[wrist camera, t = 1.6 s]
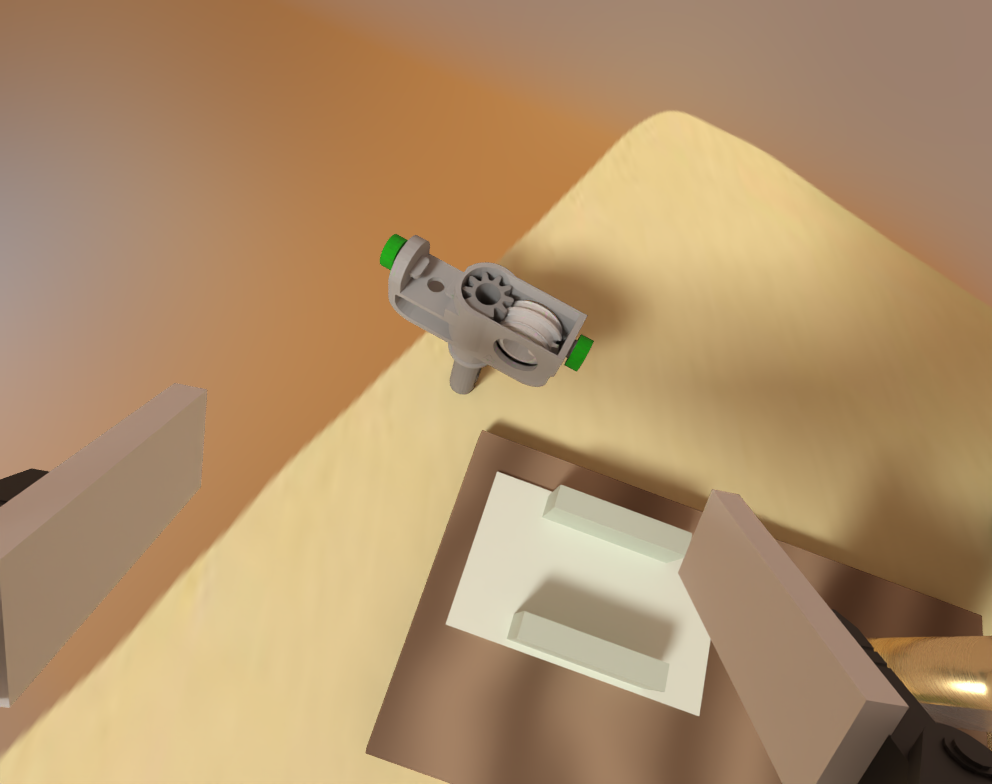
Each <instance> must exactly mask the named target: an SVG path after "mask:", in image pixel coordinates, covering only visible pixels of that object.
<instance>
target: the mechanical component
mask: <svg viewBox="0 0 992 784" xmlns="http://www.w3.org/2000/svg"><path fill="white" fill-rule="evenodd" d="M429 249H430V243H429V242H428V241H427V240H424V239H423V238H421V237H419V236H417V235H415V236H413V237H411V238H410V239H409V240H406V239H404V238H403V237H401V236H399V235H397V234H394V235H393V236H391V238H390V239H389V240H388V241H387V243H386V245H385V246H384V248H383V251H382V254H381V257H380V264H381V265H382V266H384V267H386V268H388V269H389V270H391V271H390V276H389V301H390V303H391V305H392V307H393V308H394V309H395V310H396V311H397V312H398V313H399V314H400V315H401V316H402V317H403V318H405V319H406V320H408V321H410V322H411V323H413V324H415V325H417V326H419V327H420V328H422V329H424V330H426V331H428V332H429V333H431V334H433V335H435V336H437V337H439V338H440V339H442V340H444V341H446V342H448V348H449V352H450V354H451V356H452V357H453V359H454V364H453V368H452V372H451V377H450V386H451V388H452V389H453V390H454V391H455V392H456V393H459V394H468V393H469V392H470V391H471V390H472V389H473V388H474V387H475V386H474V382H477V380H478V377H479V374H480V370H481V368H482V367H485V366H487V365H490V366H491V367H493V368H495V369H497V370H499V371H501V372H502V373H504V374H506V375H508V376H510V377H511V378H513V379H515V380H517V381H519V382H521V383H523V384H526V385H529V386H534V387H540V386H543V385H545V384H546V382H547V380H548V379H549V377H550V376H553V377H554V375H555V374H556V372H557V370H558V369H559V367H560V365H561V364H562V362H563V361H564V359H565V357H567V360H566V362H565V364H564V365H565V366H567V367H569V368H571V369H573V370H575V371H578V369H579V368H580V366H581V364H582V363H583V361H584V359H585V358H586V356H587V354H588V352H589V350H590V348H591V346H592V344H593V342H594V341H593V340H591V339H589V338H587V337H585V336H583V335H582V334H581V335H580V337H579V339H578V340H575V338H576V336H577V334H578V332H579V331H580V329H581V327H582V325H583V323H584V321H585V319H586V317H587V316H588V315H586V314H584V313H582V312H580V311H579V310H577V309H575V308H573V307H571V306H569V305H567V304H566V303H564V302H562V301H560V300H558V299H556V298H554V297H553V296H551V295H549V294H547V293H545V292H543V291H542V290H540V289H538V288H536V287H534V286H532V285H530V284H529V283H527V282H525V281H523V280H521V279H519V278H517V277H516V276H515V275H514V274H513V273H512V272H510V271H509V270H508V269H506V268H505V267H503V266H501V265H498V264H494V263H477V264H474V265H471V266H469V267H468V268H467V269H466V271H465V272H462V271H460V270H458V269H456V268H454V267H452V266H451V265H449V264H447V263H445V262H443V261H442V260H440V259H438V258H436V257H434V256H432V255H431V254H429ZM524 300H531V301H524ZM533 301H535V302H533ZM536 302H538V303H536ZM539 303H541V304H543V305H544V306H543V305H541V304H539ZM545 306H546V307H545ZM547 307H548V308H549V309H550V310H551V311H552V312H553V313H554V314H555V315H556V317H557V318H558V320H557V318H556V317H555V315H554V314H553V313H552V312H551V311H550V310H549V309H548V308H547Z"/></svg>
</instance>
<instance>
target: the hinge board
mask: <svg viewBox="0 0 992 784" xmlns="http://www.w3.org/2000/svg"><path fill="white" fill-rule="evenodd" d="M702 513H703V512H701V511H699V510H696V509H693V508H691V507H688V506H685V505H683V504H680V503H677V502H675V501H672V500H669V499H667V498H664V497H661V496H658V495H656V494H653V493H650V492H648V491H645V490H642V489H640V488H637V487H634V486H632V485H629V484H626V483H624V482H621V481H618V480H615V479H613V478H610V477H607V476H605V475H602V474H599V473H597V472H594V471H591V470H589V469H586V468H583V467H580V466H578V465H575V464H572V463H570V462H567V461H564V460H562V459H559V458H556V457H554V456H551V455H548V454H546V453H543V452H540V451H537V450H535V449H532V448H529V447H527V446H524V445H521V444H519V443H516V442H513V441H511V440H508V439H505V438H502V437H500V436H497V435H494V434H492V433H489V432H486V431H484V430H482V432H481V434H480V436H479V439H478V441H477V444H476V447H475V450H474V452H473V455H472V458H471V461H470V463H469V466H468V469H467V472H466V474H465V477H464V480H463V483H462V486H461V488H460V491H459V494H458V497H457V499H456V502H455V505H454V508H453V510H452V513H451V516H450V519H449V521H448V524H447V527H446V530H445V532H444V535H443V538H442V541H441V544H440V546H439V549H438V552H437V555H436V557H435V560H434V563H433V566H432V568H431V571H430V574H429V577H428V579H427V582H426V585H425V588H424V591H423V593H422V596H421V599H420V602H419V604H418V607H417V610H416V613H415V615H414V618H413V621H412V624H411V626H410V629H409V632H408V635H407V637H406V640H405V643H404V646H403V649H402V651H401V654H400V657H399V660H398V662H397V665H396V668H395V671H394V673H393V676H392V679H391V682H390V684H389V687H388V690H387V693H386V695H385V698H384V701H383V704H382V707H381V709H380V712H379V715H378V718H377V720H376V723H375V726H374V729H373V731H372V734H371V737H370V740H369V742H368V745H367V748H366V754H369V755H372V756H375V757H378V758H380V759H383V760H386V761H389V762H392V763H395V764H397V765H400V766H403V767H406V768H409V769H411V770H414V771H417V772H420V773H423V774H425V775H428V776H431V777H434V778H437V779H439V780H442V781H445V782H448V783H451V784H782V782H781V780H780V778H779V776H778V774H777V772H776V770H775V768H774V766H773V764H772V762H771V760H770V758H769V756H768V754H767V752H766V750H765V747H764V745H763V743H762V741H761V739H760V737H759V735H758V733H757V731H756V729H755V727H754V725H753V723H752V721H751V719H750V717H749V715H748V713H747V711H746V709H745V707H744V705H743V703H742V701H741V699H740V697H739V695H738V693H737V691H736V689H735V687H734V685H733V683H732V681H731V679H730V677H729V675H728V673H727V671H726V669H725V667H724V665H723V663H722V661H721V659H720V657H719V655H718V653H717V651H716V649H715V647H714V645H713V643H712V641H711V639H710V637H709V635H708V633H707V630H706V628H705V626H704V624H703V622H702V620H701V618H700V616H699V614H698V612H697V610H696V608H695V606H694V604H693V602H692V600H691V598H690V596H689V594H688V592H687V590H686V588H685V586H684V584H683V582H682V580H681V578H680V576H679V574H678V571H679V569H680V566H681V564H682V561H683V559H684V557H685V554H686V552H687V549H688V547H689V544H690V542H691V540H692V537H693V535H694V532H695V530H696V527H697V525H698V523H699V520H700V518H701V515H702ZM775 540H776V541H777V543H778V544H779V545H780V546H781V548H782V549H783V550H784V551H785V553H786V554H787V555H788V556H789V558H790V559H791V560H792V561H793V563H794V564H795V565H796V566H797V568H798V569H799V570H800V571H801V573H802V574H803V575H804V576H805V578H806V579H807V580H808V581H809V583H810V584H811V585H812V586H813V588H814V589H815V590H816V591H817V593H818V594H819V595H820V596H821V598H822V599H823V600H824V601H825V603H826V604H827V605H828V606H829V608H830V609H834V610H836V611H837V612H839V613H840V614H841V615H842V616H843V617H845V618H846V619H847V620H848V621H850V622H851V623H852V624H853V625H854V626H856V627H857V628H858V629H859V630H860V632H861V633H862V634H863V635H864V636H865V638H866V639H867V640H868V641H869V642H870V644H871V645H872V646H873V647H874V651H876V652H878V653H879V655H880V656H881V657H882V658H883V659H884V661H885V662H886V663H887V667H888V668H891V669H892V670H893V671H894V673H895V674H896V675H897V676H898V678H899V679H900V680H901V681H902V682H903V684H904V685H905V686H906V687H907V688H908V690H909V691H910V692H911V693H912V694H913V696H914V697H915V698H916V699H917V701H918V702H919V703H920V704H921V705H922V707H923V708H924V709H925V710H926V711H927V713H928V714H929V715H930V716H931V717H932V719H933V720H934V721H935V722H938V723H942V724H946V725H950V726H952V727H954V728H956V729H959V730H961V731H963V732H965V733H967V734H969V735H970V736H972V737H973V738H974V739H976V740H977V741H979V742H980V743H982V744H983V745H985V746H986V747H987V748H988V745H987V732H989V733H992V636H983V631H982V616H981V615H979V614H976V613H973V612H970V611H968V610H965V609H962V608H960V607H957V606H954V605H952V604H949V603H946V602H944V601H941V600H938V599H935V598H933V597H930V596H927V595H925V594H922V593H919V592H917V591H914V590H911V589H909V588H906V587H903V586H901V585H898V584H895V583H892V582H890V581H887V580H884V579H882V578H879V577H876V576H874V575H871V574H868V573H866V572H863V571H860V570H857V569H855V568H852V567H849V566H847V565H844V564H841V563H839V562H836V561H833V560H831V559H828V558H825V557H823V556H820V555H817V554H814V553H812V552H809V551H806V550H804V549H801V548H798V547H796V546H793V545H790V544H788V543H785V542H782V541H779V540H777V539H775Z"/></svg>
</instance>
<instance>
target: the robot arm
mask: <svg viewBox="0 0 992 784" xmlns="http://www.w3.org/2000/svg"><path fill="white" fill-rule="evenodd" d="M206 400H207V390H206V389H202V388H197V387H191V386H186V385H181V384H176V383H174V384H173V385H171V386H170V387H168V388H167V389H166V390H164V391H163V392H161V393H160V394H159V395H157V396H156V397H154V398H153V399H152V400H150V401H149V402H147V403H146V404H145V405H143V406H142V407H140V408H139V409H138V410H136V411H135V412H133V413H132V414H131V415H129V416H128V417H126V418H125V419H124V420H122V421H121V422H119V423H118V424H116V425H115V426H114V427H112V428H111V429H109V430H108V431H107V432H105V433H104V434H102V435H101V436H100V437H98V438H97V439H95V440H94V441H92V442H91V443H90V444H88V445H87V446H85V447H84V448H83V449H81V450H80V451H79V452H77V453H76V454H74V455H73V456H71V457H70V458H69V459H67V460H66V461H64V462H63V463H62V464H60V465H59V466H57V467H56V468H55V469H53V470H52V471H50V472H48V471H42V470H36V469H29V470H26V471H23V472H20V473H17V474H15V475H12V476H9V477H6V478H3V479H1V480H0V706H2V707H11V705H12V704H13V703H14V702H15V701H16V700H17V699H18V697H19V696H20V695H21V694H22V693H23V692H24V690H25V689H26V688H27V687H28V686H29V685H30V683H31V682H32V681H33V680H34V679H35V678H36V677H37V675H38V674H39V673H40V672H41V671H42V670H43V668H44V667H45V666H46V665H47V664H48V663H49V662H50V660H51V659H52V658H53V657H54V656H55V655H56V654H57V652H58V651H59V650H60V649H61V648H62V647H63V646H64V644H65V643H66V642H67V641H68V640H69V639H70V637H71V636H72V635H73V634H74V633H75V632H76V631H77V629H78V628H79V627H80V626H81V625H82V624H83V622H84V621H85V620H86V619H87V618H88V617H89V615H90V614H91V613H92V612H93V611H94V610H95V609H96V607H97V606H98V605H99V604H100V603H101V602H102V600H103V599H104V598H105V597H106V596H107V595H108V593H109V592H110V591H111V590H112V589H113V588H114V586H115V585H116V584H117V583H118V582H119V581H120V580H121V579H122V577H123V576H124V575H125V574H126V573H127V572H128V570H129V569H130V568H131V567H132V566H133V564H135V562H136V561H137V560H138V559H139V558H140V557H141V555H142V554H143V553H144V552H145V551H146V550H147V549H148V547H149V546H150V545H151V544H152V543H153V542H154V540H155V539H156V538H157V537H158V536H159V534H161V532H162V531H163V530H164V529H165V528H166V527H167V525H168V524H169V523H170V522H171V521H172V520H173V518H174V517H175V516H176V515H177V514H178V513H179V512H180V510H181V509H182V508H183V507H184V506H185V505H186V504H187V502H188V501H189V500H190V499H191V498H192V497H193V495H194V494H195V493H196V492H197V491H198V490H199V488H200V487H201V477H202V461H203V446H204V445H203V444H204V431H205V414H206ZM678 574H679V576H680V578H681V580H682V582H683V584H684V586H685V588H686V590H687V592H688V594H689V596H690V598H691V600H692V602H693V604H694V606H695V608H696V610H697V612H698V614H699V616H700V618H701V620H702V622H703V624H704V626H705V628H706V630H707V633H708V635H709V637H710V639H711V641H712V643H713V645H714V647H715V649H716V651H717V653H718V655H719V657H720V659H721V661H722V663H723V665H724V667H725V669H726V671H727V673H728V675H729V677H730V679H731V681H732V683H733V685H734V687H735V689H736V691H737V693H738V695H739V697H740V699H741V701H742V703H743V705H744V707H745V709H746V711H747V713H748V715H749V717H750V719H751V721H752V723H753V725H754V727H755V729H756V731H757V733H758V735H759V737H760V739H761V741H762V743H763V745H764V747H765V750H766V752H767V754H768V756H769V758H770V760H771V762H772V764H773V766H774V768H775V770H776V772H777V774H778V776H779V778H780V780H781V782H782V784H992V751H990V750H989V749H988V748H987V747H986V746H985V745H983V744H982V743H980V742H979V741H977V740H976V739H974V738H973V737H972V736H970V735H969V734H967V733H965V732H963V731H961V730H959V729H956V728H954V727H952V726H950V725H946V724H942V723H938V722H935V721H934V720H933V719H932V717H931V716H930V715H929V714H928V713H927V711H926V710H925V709H924V708H923V707H922V705H921V704H920V703H919V702H918V701H917V699H916V698H915V697H914V696H913V694H912V693H911V692H910V691H909V690H908V688H907V687H906V686H905V685H904V684H903V682H902V681H901V680H900V679H899V678H898V676H897V675H896V674H895V673H894V671H893V670H892V669H891V668H888V667H887V663H886V662H885V661H884V659H883V658H882V657H881V656H880V655H879V653H878V652H876V651H874V647H873V646H872V645H871V644H870V642H869V641H868V640H867V639H866V638H865V636H864V635H863V634H862V633H861V632H860V630H859V629H858V628H857V627H856V626H854V625H853V624H852V623H851V622H850V621H848V620H847V619H846V618H845V617H843V616H842V615H841V614H840V613H839V612H837V611H836V610H834V609H830V608H829V606H828V605H827V604H826V603H825V601H824V600H823V599H822V598H821V596H820V595H819V594H818V593H817V591H816V590H815V589H814V588H813V586H812V585H811V584H810V583H809V581H808V580H807V579H806V578H805V576H804V575H803V574H802V573H801V571H800V570H799V569H798V568H797V566H796V565H795V564H794V563H793V561H792V560H791V559H790V558H789V556H788V555H787V554H786V553H785V551H784V550H783V549H782V548H781V546H780V545H779V544H778V543H777V541H776V540H775V539H774V538H773V536H772V535H771V534H770V533H769V531H768V530H767V529H766V528H765V526H764V525H763V524H762V523H761V521H760V520H759V519H758V518H757V516H756V515H755V514H754V513H753V511H752V510H751V509H750V508H749V506H748V505H747V504H746V503H745V501H744V500H743V499H742V498H741V496H740V495H739V494H734V493H729V492H724V491H718V490H713V489H712V491H711V494H710V496H709V498H708V501H707V503H706V506H705V508H704V511H703V513H702V515H701V518H700V520H699V523H698V525H697V527H696V530H695V532H694V535H693V537H692V540H691V542H690V544H689V547H688V549H687V552H686V554H685V557H684V559H683V561H682V564H681V566H680V569H679V571H678Z"/></svg>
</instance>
